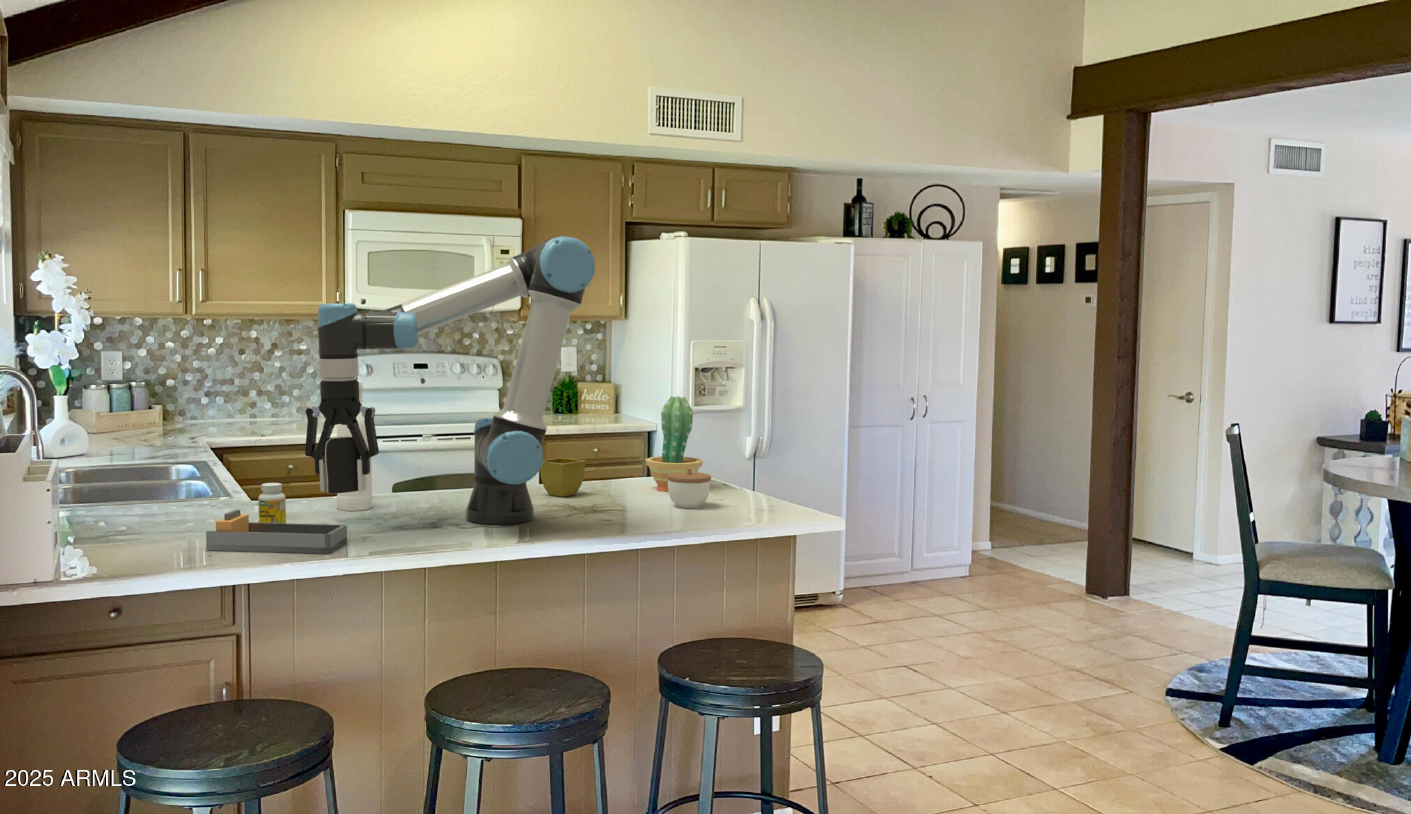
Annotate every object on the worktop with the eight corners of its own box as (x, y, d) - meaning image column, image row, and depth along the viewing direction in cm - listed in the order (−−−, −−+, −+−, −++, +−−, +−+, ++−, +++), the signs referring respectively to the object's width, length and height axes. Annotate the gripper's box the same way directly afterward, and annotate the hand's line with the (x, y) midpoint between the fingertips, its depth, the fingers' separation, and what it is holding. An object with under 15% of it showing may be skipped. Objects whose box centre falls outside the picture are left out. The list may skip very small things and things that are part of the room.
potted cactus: (712, 488, 310) (715, 396, 308) (682, 496, 297) (684, 400, 294) (665, 482, 318) (667, 393, 315) (633, 489, 305) (635, 396, 302)
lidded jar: (702, 501, 289) (703, 465, 288) (716, 509, 279) (717, 471, 278) (661, 503, 286) (662, 465, 285) (673, 510, 275) (674, 472, 275)
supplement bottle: (290, 527, 245) (290, 482, 245) (277, 531, 240) (277, 486, 239) (267, 525, 246) (266, 481, 245) (253, 530, 241) (253, 485, 240)
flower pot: (537, 495, 293) (537, 460, 292) (560, 491, 300) (560, 457, 299) (563, 499, 288) (563, 463, 287) (586, 494, 295) (586, 460, 294)
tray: (346, 543, 231) (346, 524, 231) (329, 553, 221) (329, 534, 221) (229, 539, 231) (228, 521, 231) (206, 550, 221) (206, 531, 221)
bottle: (360, 503, 275) (360, 379, 272) (378, 508, 269) (378, 381, 267) (330, 507, 269) (329, 380, 266) (348, 512, 263) (348, 382, 261)
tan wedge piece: (248, 533, 230) (248, 508, 230) (231, 542, 222) (231, 515, 222) (234, 533, 230) (233, 508, 230) (216, 541, 222) (215, 515, 222)
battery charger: (356, 488, 239) (354, 434, 238) (362, 491, 236) (360, 436, 235) (322, 492, 235) (320, 437, 234) (328, 494, 232) (326, 439, 231)
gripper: (393, 377, 236) (397, 487, 239) (297, 377, 237) (302, 487, 239) (382, 380, 229) (386, 493, 231) (283, 380, 229) (288, 493, 232)
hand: (343, 490), depth 235 cm, fingers closed on battery charger, 7 cm apart
